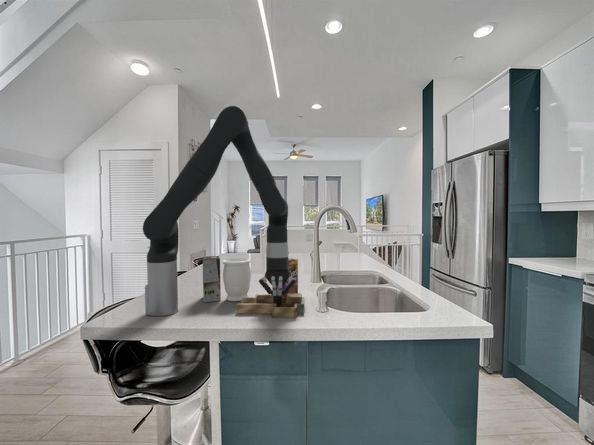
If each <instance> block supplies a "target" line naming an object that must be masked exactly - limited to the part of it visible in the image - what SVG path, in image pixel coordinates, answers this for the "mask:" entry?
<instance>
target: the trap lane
mask: <svg viewBox="0 0 594 445" xmlns="http://www.w3.org/2000/svg"><path fill="white" fill-rule="evenodd" d="M236 314H272V315H271V316H272V318H291V319H292V318H297V316H298V314H299V315H300V314H302V315H303V314H305V296H302V302H301V304H294V307H286V297H282V304H281V305H280V307H276V304H273V295H271V294H268V293H267V294H266V293H265V294H258V293H257V294H255V296H251V297H250V296H248V297H242V301H241V303H236Z"/></svg>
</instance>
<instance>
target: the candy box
mask: <svg viewBox="0 0 594 445" xmlns="http://www.w3.org/2000/svg"><path fill="white" fill-rule="evenodd" d="M288 269H289V273H290V276H291V277H292V278H295V279H296V282H295V283H294V285H293V286H292V287H291V288H290V290H289V291H288V292H287V293H299V259H298V258H293V257H290V258H288ZM288 281H289V278H288V280H287V281H286V282H285V284H284V285H283V289H282V290H284V289H285V288H286V287H287V286H288V284H289V282H288ZM277 295H278V285H277ZM286 296H287V294H284V295H282V297H286Z"/></svg>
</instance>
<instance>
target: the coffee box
mask: <svg viewBox="0 0 594 445" xmlns="http://www.w3.org/2000/svg"><path fill="white" fill-rule="evenodd" d="M202 289H203V290H202V293H203V302H204V303H210V302H220V301H221V294H222V293H221V289H222V288H221V258H220V256H219V255H211V256H210V255H209V256H202Z"/></svg>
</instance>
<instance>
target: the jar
mask: <svg viewBox="0 0 594 445" xmlns="http://www.w3.org/2000/svg"><path fill="white" fill-rule="evenodd" d="M250 263H251V259H250V258H245V257H244V258H243V257H241V258H240V257H239V258H227V259H224V260H222V264H223V265H224V267H223V272H222V278H223V279H222V280H223V284H224V290H225V294H226V295H227V296H226V300H227V301H229V302H242V297H249V294H248V293H249V291H250V286H251V284H250V283H251V279H252V278H251V277H252V271H251V267H250Z"/></svg>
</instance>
